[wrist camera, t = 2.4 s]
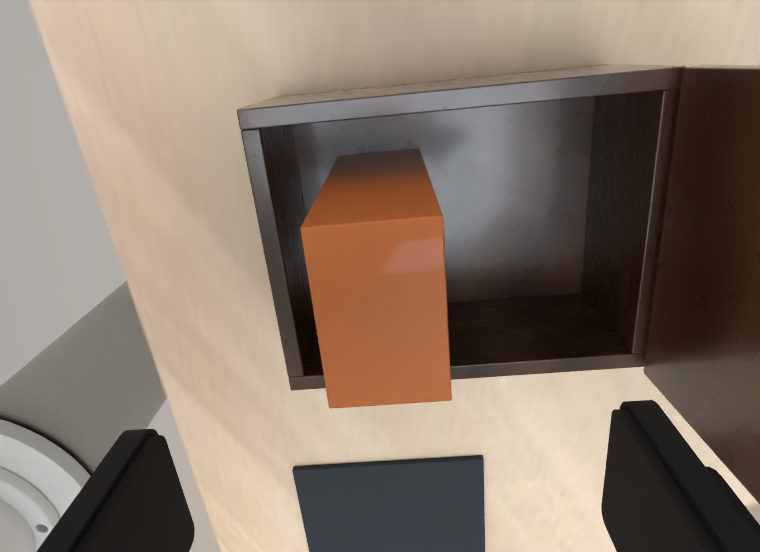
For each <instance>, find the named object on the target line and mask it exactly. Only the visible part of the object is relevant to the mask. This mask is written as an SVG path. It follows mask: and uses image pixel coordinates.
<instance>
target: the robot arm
mask: <svg viewBox="0 0 760 552" xmlns="http://www.w3.org/2000/svg"><path fill="white" fill-rule="evenodd" d="M602 516H603V520H604V523H605V526H606V528H607V531H608V533H609V535H610V537H611V540H612V542H613V544H614V546H615V549H616V551H617V552H760V525H759V524H758V522H757V521H756V520H755V519H754V517H753V516H752V515H751V514H750V512H749V511H748V510H747V508H746V507H745V506H744V504H743V503H742V502H741V501H740V499H739V498H738V497H737V495H736V494H735V493H734V492H733V490H732V489H731V488H730V486H729V485H728V484H727V483H726V481H725V480H724V479H723V477H722V476H721V475H720V474H719V473H718V472H717V471H716V470H714V469H712V468H711V467H705V466H704V465H703V463H702V462H701V461H700V459H699V458H698V457H697V455H696V454H695V453H694V451H693V450H692V449H691V447H690V446H689V445H688V443H687V442H686V441H685V439H684V438H683V437H682V435H681V434H680V433H679V431H678V430H677V429H676V427H675V426H674V425H673V424H672V422H671V421H670V420H669V418H668V417H667V416H666V414H665V413H664V412H663V410H662V409H661V408H660V406H659V405H658V404H657V403H656V402H655V401H653V400H645V401H628V402H623V403H622V404H621V406H620V409H618V410H613V412H612V416H611V425H610V434H609V443H608V452H607V461H606V470H605V479H604V488H603V497H602ZM193 539H194V523H193V521H192V517H191V514H190V511H189V508H188V505H187V502H186V499H185V496H184V493H183V490H182V487H181V484H180V481H179V478H178V475H177V472H176V469H175V466H174V463H173V460H172V457H171V454H170V451H169V448H168V445H167V442H166V439H165V437H164V436H161V435H158V433H157V431H155V430H154V429H141V430H127V431H124V432H123V433H122V434H121V435H120V436H119V438H118V439H117V441H116V442H115V443H114V445H113V446H112V448H111V449H110V450H109V452H108V453H107V454H106V456H105V457H104V459H103V460H102V461H101V463H100V464H99V466H98V467H97V468H96V470H95V471H94V472H93V474H92V475H91V477H90V478H89V479H88V481H87V482H86V484H85V485H84V486H83V488H82V489H81V490H80V492H79V493H78V495H77V496H76V497H75V499H74V500H73V501H72V503H71V504H70V506H69V507H68V508H67V510H66V511H65V513H64V514H63V515H62V517H61V518H59V515H58V513H57V512H56V510H55V509H54V507H53V506H52V504H51V503H50V501H49V500H48V499H47V498H46V497H45V496H44V495H43V494H42V493H41V492H40V491H39V490H38V489H36V488H35V487H34V486H33V485H31V484H30V483H29V482H28V481H26V480H24V479H23V478H21V477H19V476H18V475H16V474H14V473H13V472H10V471H8V470H6V469H3V468H1V467H0V552H189V550H190V548H191V546H192V543H193Z"/></svg>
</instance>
